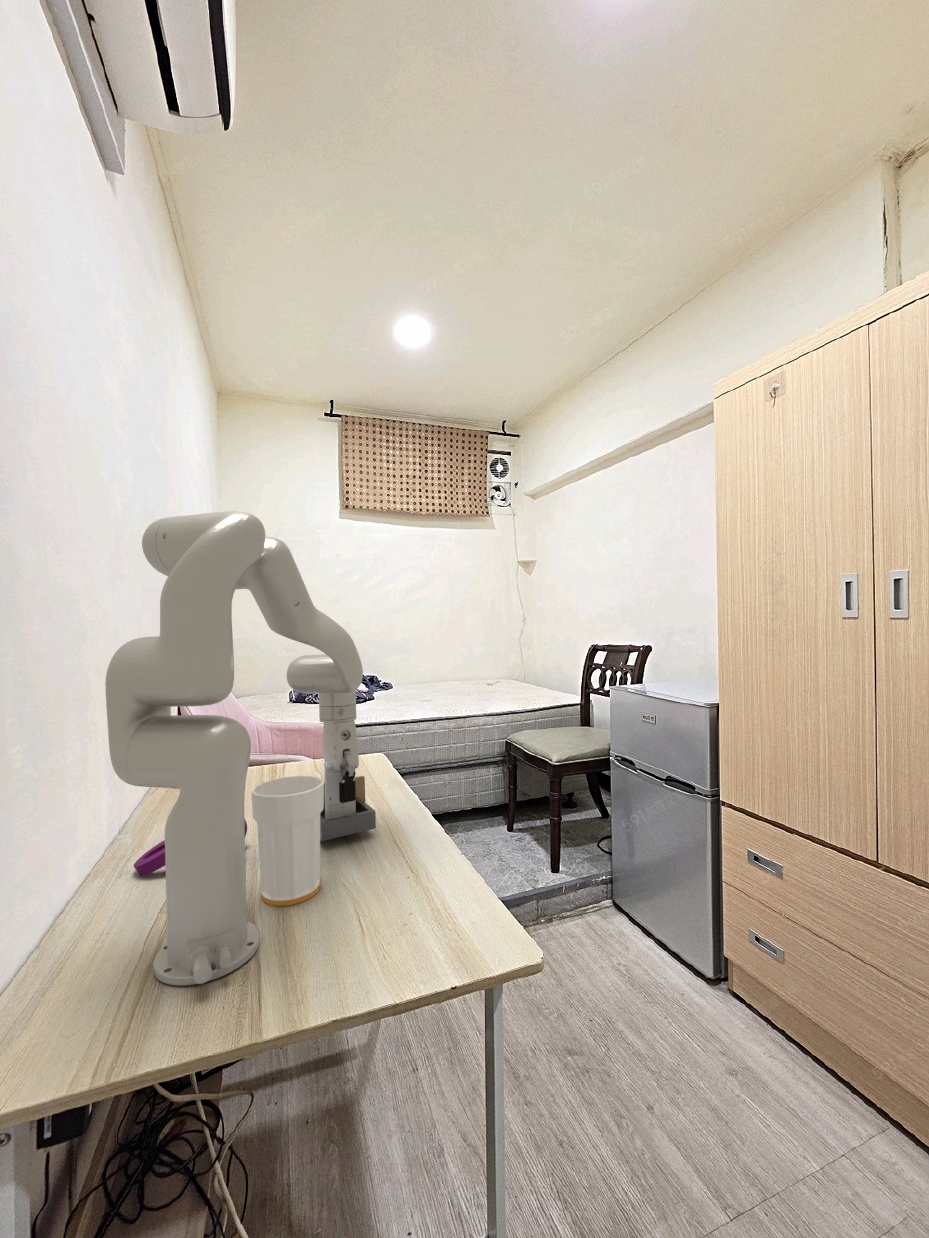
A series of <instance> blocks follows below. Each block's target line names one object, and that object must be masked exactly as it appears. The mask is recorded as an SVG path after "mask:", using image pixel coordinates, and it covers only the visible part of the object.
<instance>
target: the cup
mask: <svg viewBox="0 0 929 1238" xmlns="http://www.w3.org/2000/svg"><path fill="white" fill-rule="evenodd" d="M251 807H252V818H253V820H255V822H256V826H257V841H258V844H257V845H258V860H259V861H258V863H259V873H260V874H259V878H260V879H259V881H260V894H261V900H262V902H264V903H265V904H267V905H269V906H273V907H274V906H275V907H285V906H294V905H297V904H300V903H302V902H306V901H307V900H309V899H310V898H312V897H314V896H315V895H317V893H318V892H319V891H320V889H321V839H320V813H321V812H322V811H323V807H324V779H322V778H320V777H319V776H313V775H290V776H283V777H279V778H278V777H277V778H271V779H269V780H266V781H263V782H261V783H259V784H257V785H255V786H253V788H252V790H251Z"/></svg>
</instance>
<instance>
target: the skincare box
mask: <svg viewBox="0 0 929 1238" xmlns="http://www.w3.org/2000/svg"><path fill="white" fill-rule="evenodd" d="M323 765H324V766H323V767H324V776H323V777H324V779H323V780H324V784H325V820H328V819H333V818H337V817H342V816H346V815H351V814H355V813H356V800H355V801H350V802H346V803H340V801H339V783H340V782H341V781H340V776H339V772H338V771H335V770H334V769H332V766H331V765H330V764H328V763H327V762H325V761H324V764H323ZM342 767H344V766H342ZM345 772H346V771H345ZM345 772H343V774H345Z"/></svg>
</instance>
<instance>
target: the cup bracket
mask: <svg viewBox="0 0 929 1238" xmlns="http://www.w3.org/2000/svg"><path fill="white" fill-rule="evenodd" d="M355 778H356V780H355V788H356V813H355V814H351V815H346V816H342V817H337V818H333V819H328V820H325V784H324V807H323V811H322V812H321V813H320V841H322V842H323V841H324V842H325V841H327V840H333V839H336V838H340V837H344V836H349V835H352V834H353V835H354V834H357V833H360V832H365V831H370V830H374V829H376V828H377V822H376V820H377V818H376V810H375V809H374V808H373V807H371V806H370V805H369V804H368V803H367V802H366V781H365V780H366V779H365V776H364V775H359V776H355Z"/></svg>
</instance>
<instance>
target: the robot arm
mask: <svg viewBox="0 0 929 1238" xmlns="http://www.w3.org/2000/svg"><path fill="white" fill-rule="evenodd" d="M141 548H142V552H143V554H144V556H145V559H146V560H147V562H148V563H149V565H150V566H151V567H152V568H154V570H156V571H157V572H158V573H160V574H162V575H163V576H165V577H167V578H166V580H165V582H164V584H163V586H162V590H161V592H160V593H161V594H160V600H159V636H158V635H157V636H143V637H139V638H135V639H131V640H129V641H127V642H125V643H124V644H123V645H121V646H120V647H119V648H118V649H117V650H116V651H115V652H114V654H113V655H112V657H111V659H110V662H109V664H108V666H107V670H106V674H105V683H104V684H105V705H106V707H105V708H106V719H107V721H106V722H107V735H108V749H109V756H110V761H111V765H112V768H113V770H114V773H115V774H116V776H117V777H118V778H119V779H120V780H121V781H122V782H124V783H125V784H128V785H131V786H135V787H143V788H144V787H146V788H162V789H163V788H164V789H166V788H167V789H173V790H174V789H175V790H176V789H177V790H179V795H178V797H177V799H176V802H175V803H174V804H173V807H172V808H171V810H170V812H169V814H168V815H167V819H166V822H165V825H164V826H165V827H164V840H165V866H164V867H165V901H166V913H165V914H166V943H165V944H163V946H161V948H160V949H159V951H158V952H157V953H156V954H155V957H154V960H153V974H154V976H155V977H156V979H157V980H158V981H160V982H162V983H164V984H167V985H170V986H171V985H172V986H193V985H198V984H199V985H202V984H205V983H207V982H211V981H212V980H216V979H219V978H221V977H224V976H225V975H228V974H230V973H232V972H233V971H235V970H236V969H239V968H240V967H241V966H243V965H244V964H246V962H248V961H249V960H250V959H251V958H252V957H253V956H254V954H255V953H256V952H257V950H258V949H259V946H260V941H261V939H260V938H261V935H260V929H259V928H258V926H256V924H254V923H253V922H250V921H248V915H247V914H248V910H247V909H248V908H247V905H248V904H247V876H246V875H247V873H246V871H247V870H246V865H247V864H246V837H245V823H244V818H245V799H246V798H245V796H246V795H245V793H246V792H245V791H246V782H247V776H248V770H249V765H250V758H251V754H252V753H251V752H252V741H251V737H250V734H249V731H248V730H247V729H246V727H245V726H244V725H243V724H242V723H241V722H239V721H238V720H236V719H233V718H231V717H227V716H223V715H214V714H212V715H211V714H185V715H184V714H183V715H172V710H171V707H179V708H180V707H203V706H204V707H205V706H212V705H216V704H218V703H221V702H223V701H225V699H227V698H228V697H229V695H230V694H231V692H232V690H233V687H234V682H235V655H234V639H233V621H232V620H233V618H232V616H233V615H232V610H233V609H232V607H233V605H232V604H233V598H234V594H235V591H236V590H248V591H249V592H250V593H251V596H252V597H253V598H254V601H255V603H256V605H257V606H258V608H259V610H260V612H261V615H262V616H263V618H264V620H265V622H266V624H267V626H268V627H269V629H270V630H271V631H273V632H274V633H275V634H277V635H280V636H282V637H285V638H286V639H289V640H293V641H294V642H297V643H302V644H304V645H307V646H310V647H313V648H315V649H316V650H318V651H320V652H322V653H323V654H312V655H311V654H308V655H302V656H299V657H297V658H295V659H293V660H292V661H291V662H290V664H289V665H288V667H287V670H286V681H287V684H288V686H289V687H290V688H291V689H292V690H293V691H295V692H297V693H299V694H308V695H309V694H312V695H313V694H314V695H315V694H318V705H319V706H318V708H319V709H318V713H319V715H318V716H319V718H318V719H319V723H323V726H322V727H323V728H322V731H323V732H322V736H323V737H322V749H323V750H322V751H323V761H324V763H325V762H327V763H328V764H330V765H331V766H332V769H334V770H335V771H338V772H339V776H340V781H341V782H340V783H339V801H340V803H346V802H350V801H355V800H356V788H355V780H356V778H355V777H356V774H357V773H356V769H358V768H359V766H360V761H359V760H360V759H359V758H360V757H359V745H358V734H357V728H356V722H355V720H357V693H356V691H357V689H358V688H360V686H361V684H362V682H363V677H364V670H363V664H362V661H361V657H360V655H359V652H358V649H357V647H356V643H355V642H354V639H353V638H352V637H351V635H350V634H349V632H348V631H347V630H345V629H344V628H343V627H342V626H341V625H340V624H339V623H337V622H336V621H335V620H334V619H332V617H330V616H328V615H327V614H325V613H324V612H322V611H321V610H319V609H318V608H316V606H314V603H313V601H312V598H311V596H310V594H309V591H308V589H307V586H306V584H305V581H304V580H303V578H302V574H301V572H300V570H299V568H298V566H297V563H296V560H295V559H294V557H293V554H292V552H291V550H290V548H289V546H288V545H287V543H285V542H284V541H282V540H281V539H279V538H277V537H276V538H275V537H273V536H266V529H265V526H264V524H263V522H262V521H261V519H260V518H258V517H257V516H256V515H254V514H252V513H249V512H244V511H236V510H235V511H233V510H232V511H216V512H205V513H204V512H203V513H198V514H187V515H178V516H169V517H168V516H167V517H163V518H160V519H158V520H156V521H153V522H151V523H150V524H149V525H148V526H147V527H146V529H145V531H144V533H143V535H142V539H141ZM342 766H344V767H342ZM345 771H346V772H345ZM343 772H345V774H343Z"/></svg>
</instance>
